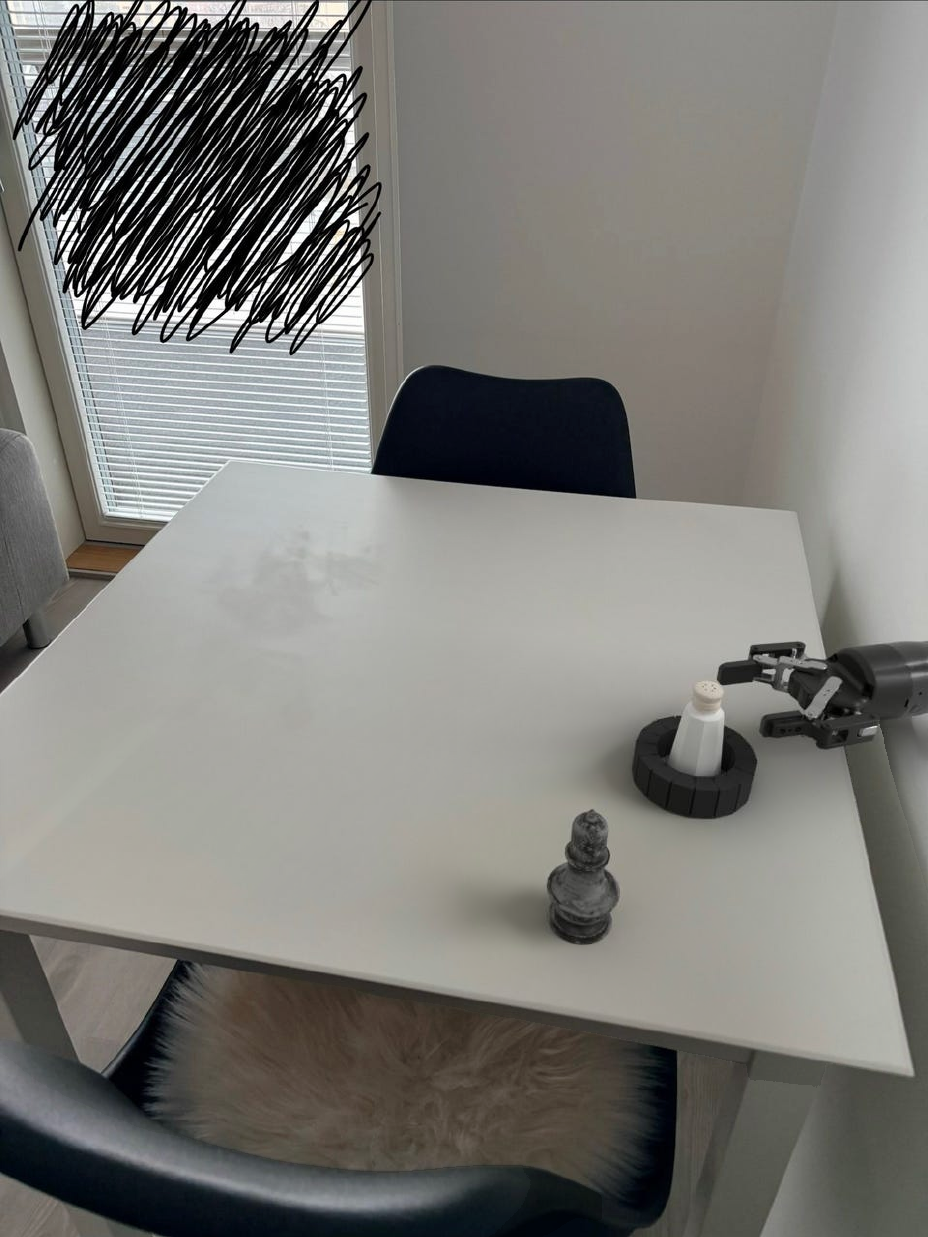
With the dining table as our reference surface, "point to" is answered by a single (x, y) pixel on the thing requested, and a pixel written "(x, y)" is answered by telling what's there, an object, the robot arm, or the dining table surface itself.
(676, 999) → the dining table surface
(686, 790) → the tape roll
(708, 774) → the pepper shaker
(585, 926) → the grey chess piece
